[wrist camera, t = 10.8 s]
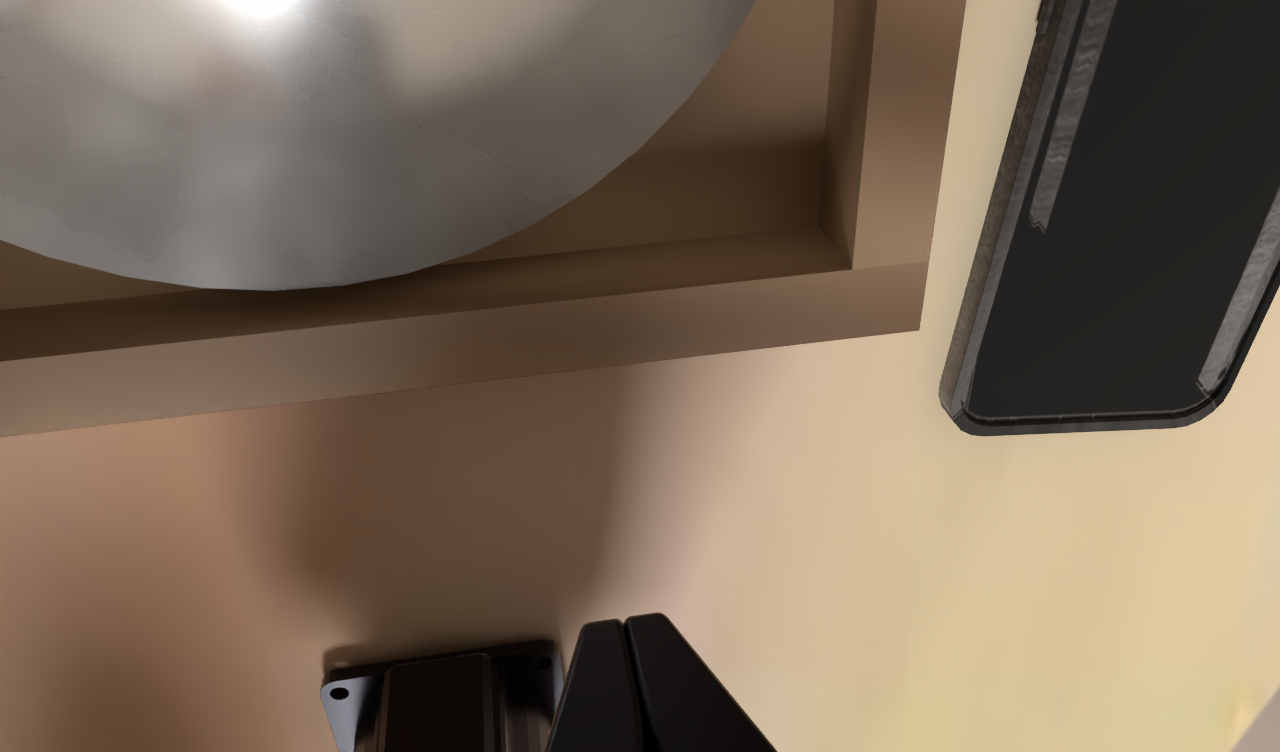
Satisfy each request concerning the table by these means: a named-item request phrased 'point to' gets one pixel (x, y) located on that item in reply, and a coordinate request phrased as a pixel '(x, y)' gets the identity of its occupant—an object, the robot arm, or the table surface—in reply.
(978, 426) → the phone
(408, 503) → the table surface
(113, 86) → the dial
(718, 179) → the square wooden tray
